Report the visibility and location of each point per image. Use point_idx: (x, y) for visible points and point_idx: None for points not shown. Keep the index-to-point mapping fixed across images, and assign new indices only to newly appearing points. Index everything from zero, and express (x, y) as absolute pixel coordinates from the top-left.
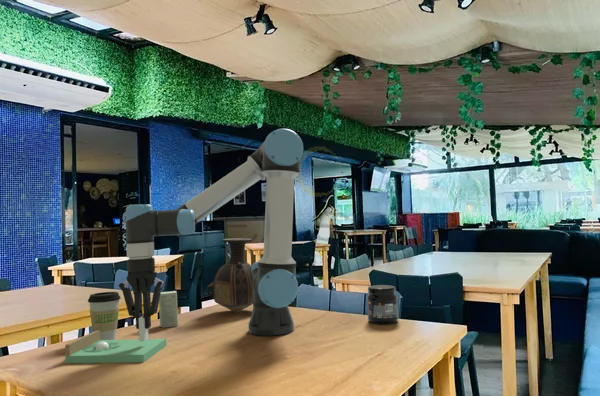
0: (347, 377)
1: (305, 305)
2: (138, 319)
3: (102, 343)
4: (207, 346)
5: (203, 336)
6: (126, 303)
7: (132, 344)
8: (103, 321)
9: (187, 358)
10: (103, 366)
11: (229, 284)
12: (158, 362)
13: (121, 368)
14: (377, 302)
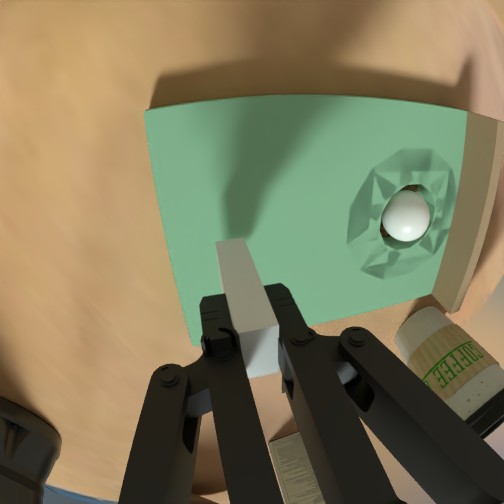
0: None
1: (94, 500)
2: (285, 328)
3: (414, 214)
4: (38, 327)
5: (131, 403)
6: (429, 394)
7: (301, 264)
8: (453, 353)
9: (3, 194)
10: (315, 47)
11: None
12: (79, 120)
13: (212, 19)
14: None
